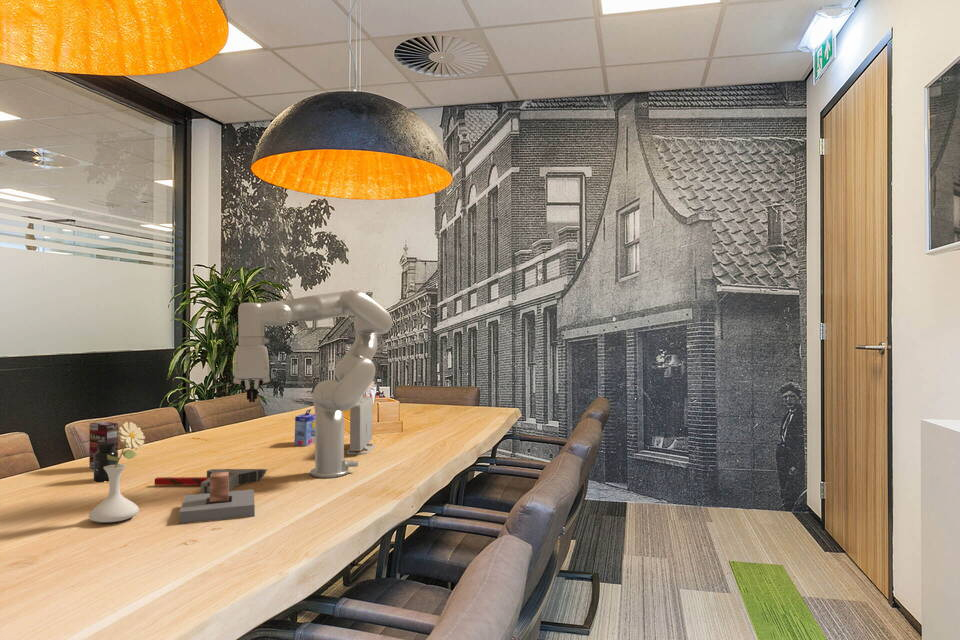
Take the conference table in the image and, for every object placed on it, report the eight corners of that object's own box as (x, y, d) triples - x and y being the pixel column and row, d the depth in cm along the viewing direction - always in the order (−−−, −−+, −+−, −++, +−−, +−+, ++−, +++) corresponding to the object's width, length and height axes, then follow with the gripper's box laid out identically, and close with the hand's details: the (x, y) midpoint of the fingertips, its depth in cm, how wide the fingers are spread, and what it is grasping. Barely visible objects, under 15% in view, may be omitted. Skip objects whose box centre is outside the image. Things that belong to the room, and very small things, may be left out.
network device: (365, 456, 238) (365, 404, 238) (342, 456, 238) (343, 404, 238) (377, 443, 263) (377, 396, 263) (356, 443, 263) (357, 396, 263)
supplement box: (88, 468, 216) (88, 423, 216) (101, 465, 220) (101, 421, 220) (105, 471, 213) (105, 424, 213) (118, 468, 217) (118, 422, 217)
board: (253, 499, 180) (253, 489, 180) (254, 516, 165) (254, 504, 165) (185, 506, 173) (185, 495, 173) (179, 523, 158) (179, 511, 158)
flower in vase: (102, 529, 154) (103, 428, 154) (79, 521, 160) (80, 424, 160) (154, 515, 165) (154, 421, 165) (130, 508, 171) (131, 417, 171)
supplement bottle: (88, 480, 200) (89, 443, 200) (110, 476, 206) (110, 440, 206) (101, 483, 197) (101, 445, 197) (122, 478, 203) (123, 442, 203)
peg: (228, 507, 172) (228, 471, 172) (228, 512, 168) (228, 475, 168) (210, 509, 170) (210, 473, 170) (209, 514, 166) (209, 477, 166)
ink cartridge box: (306, 446, 256) (306, 411, 256) (293, 446, 257) (294, 411, 257) (316, 442, 266) (316, 408, 266) (304, 441, 266) (304, 407, 266)
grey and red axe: (177, 464, 209) (267, 464, 210) (177, 475, 209) (267, 475, 210) (140, 483, 185) (242, 482, 186) (140, 495, 185) (242, 495, 186)
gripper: (276, 341, 198) (276, 399, 198) (225, 342, 193) (226, 401, 193) (277, 342, 191) (278, 402, 191) (225, 343, 186) (225, 404, 186)
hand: (252, 401), depth 192 cm, fingers closed
